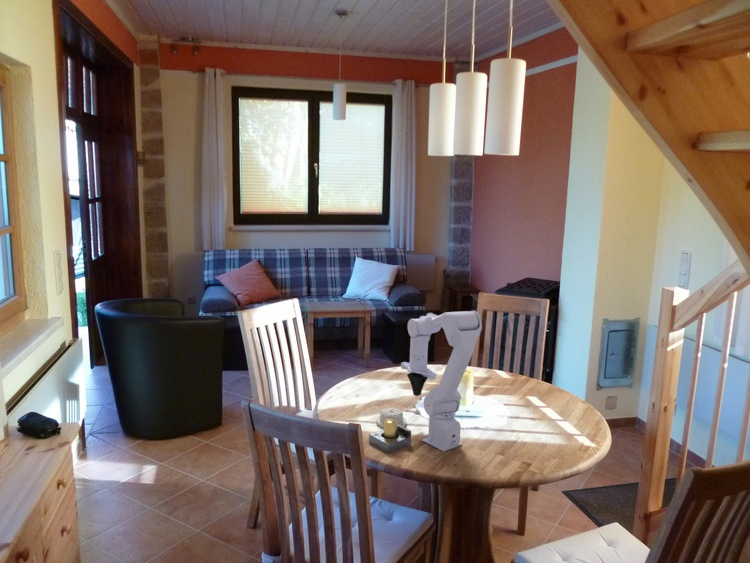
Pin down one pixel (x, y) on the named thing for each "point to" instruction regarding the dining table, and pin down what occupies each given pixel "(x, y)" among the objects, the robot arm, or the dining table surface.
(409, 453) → the dining table surface
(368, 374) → the dining table surface
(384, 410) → the mechanical component
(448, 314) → the robot arm
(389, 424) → the brass cylinder rod
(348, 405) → the dining table surface
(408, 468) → the dining table surface
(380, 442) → the jig
